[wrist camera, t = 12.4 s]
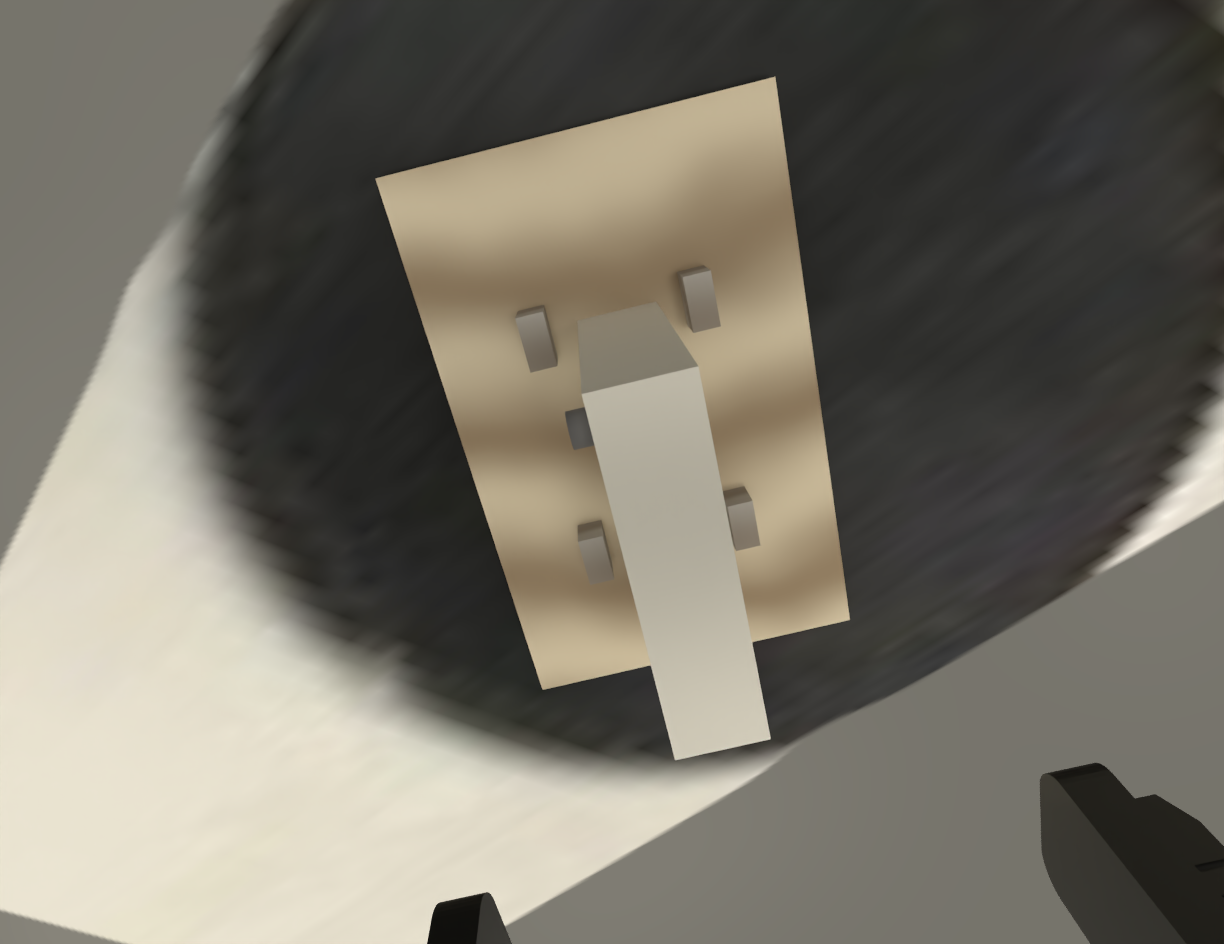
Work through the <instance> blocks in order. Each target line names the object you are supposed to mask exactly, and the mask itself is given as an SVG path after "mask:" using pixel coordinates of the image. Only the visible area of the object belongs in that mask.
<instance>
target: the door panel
mask: <svg viewBox="0 0 1224 944" xmlns="http://www.w3.org/2000/svg"><path fill="white" fill-rule="evenodd" d="M577 325H578V342H579V360H580V377H581V394H582V398H583V402H584V406H585V407H582V408H578V409H574V410H570V411H565V417H566V423H567V427H568V432H569V436H570V439H571V443H572V446H573V449H574V450H577V449H581V448H586V447H590V446H594V445H595V449H596V453H597V457H598V461H599V464H600V468H601V472H602V476H603V480H604V484H605V488H606V492H607V496H608V500H609V504H610V507H611V511H612V515H613V519H614V523H615V527H616V531H617V535H618V539H619V543H620V547H621V550H622V554H623V558H624V562H625V566H626V570H627V574H628V578H629V582H630V586H631V589H632V593H633V597H634V601H635V605H636V609H637V613H638V617H639V621H640V625H641V629H642V632H643V636H644V640H645V644H646V648H647V652H648V656H649V660H650V664H651V668H652V671H653V675H654V679H655V683H656V687H657V691H658V695H659V699H660V703H661V707H662V711H663V714H664V718H665V722H666V726H667V730H668V734H669V738H670V742H671V746H672V750H673V753H674V757H675V760H679V759H683V758H688V757H692V756H697V755H701V754H706V753H710V752H715V751H719V750H724V749H728V748H733V747H737V746H742V745H746V744H751V743H755V742H760V741H764V740H769V739H771V738H770V733H769V728H768V722H767V717H766V712H765V707H764V702H763V697H762V691H761V686H760V681H759V676H758V671H757V666H756V660H755V655H754V650H753V645H752V640H751V635H750V630H749V624H748V619H747V614H746V609H745V604H744V599H743V593H742V588H741V583H740V578H739V573H738V568H737V562H736V557H735V552H734V547H733V542H732V537H731V531H730V526H729V521H728V516H727V511H726V506H725V501H724V495H723V490H722V485H721V480H720V475H719V470H718V464H717V459H716V454H715V449H714V444H713V439H712V433H711V428H710V423H709V418H708V413H707V408H706V403H705V397H704V392H703V387H702V382H701V377H700V372H699V366H698V365H697V363H696V362H695V360H694V359H693V357H692V356H691V354H690V353H689V351H688V349H687V348H686V346H685V345H684V343H683V342H682V340H681V339H680V337H679V336H678V334H677V333H676V331H675V330H674V328H673V327H672V325H671V323H670V322H669V320H668V319H667V317H666V316H665V314H664V313H663V311H662V310H661V308H660V307H659V305H658V304H657V302H652V303H648V304H644V305H640V306H635V307H631V308H627V309H623V310H619V311H615V312H611V313H607V314H602V315H598V316H594V317H590V318H586V319H582V320H578V321H577Z"/></svg>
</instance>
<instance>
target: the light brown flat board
mask: <svg viewBox="0 0 1224 944" xmlns="http://www.w3.org/2000/svg"><path fill="white" fill-rule="evenodd" d="M376 182H377V185H378V188H379V191H380V194H381V197H382V200H383V204H384V207H385V210H386V213H387V216H388V219H389V222H390V225H391V228H392V231H393V234H394V237H395V240H396V243H397V246H398V249H399V252H400V255H401V259H402V262H403V265H404V268H405V271H406V274H407V277H408V280H409V283H410V286H411V289H412V292H413V295H414V298H415V301H416V304H417V307H418V310H419V314H420V317H421V320H422V323H423V326H424V329H425V332H426V335H427V338H428V341H429V344H430V347H431V350H432V353H433V356H434V359H435V362H436V366H437V369H438V372H439V375H440V378H441V381H442V384H443V387H444V390H445V393H446V396H447V399H448V402H449V405H450V408H451V411H452V414H453V417H454V421H455V424H456V427H457V430H458V433H459V436H460V439H461V442H462V445H463V448H464V451H465V454H466V457H467V460H468V463H469V466H470V469H471V472H472V476H473V479H474V482H475V485H476V488H477V491H478V494H479V497H480V500H481V503H482V506H483V509H484V512H485V515H486V518H487V521H488V524H489V527H490V531H491V534H492V537H493V540H494V543H495V546H496V549H497V552H498V555H499V558H500V561H501V564H502V567H503V570H504V573H505V576H506V579H507V582H508V586H509V589H510V592H511V595H512V598H513V601H514V604H515V607H516V610H517V613H518V616H519V619H520V622H521V625H522V628H523V631H524V634H525V638H526V641H527V644H528V647H529V650H530V653H531V656H532V659H533V662H534V665H535V668H536V671H537V674H538V677H539V680H540V683H541V686H542V689H543V690H544V689H548V688H553V687H557V686H562V685H566V684H570V683H575V682H579V681H584V680H588V679H592V678H597V677H601V676H606V675H610V674H614V673H619V672H623V671H627V670H632V669H636V668H641V667H645V666H649V665H651V664H650V660H649V656H648V652H647V648H646V644H645V640H644V636H643V632H642V629H641V625H640V621H639V617H638V613H637V609H636V605H635V601H634V597H633V593H632V589H631V586H630V582H629V578H628V574H627V570H626V566H625V562H624V558H623V554H622V550H621V547H620V543H619V539H618V535H617V531H616V527H615V523H614V519H613V515H612V511H611V507H610V504H609V500H608V496H607V492H606V488H605V484H604V480H603V476H602V472H601V468H600V464H599V461H598V457H597V453H596V449H595V445H594V446H590V447H586V448H581V449H577V450H574V449H573V446H572V443H571V439H570V436H569V432H568V427H567V423H566V417H565V411H570V410H574V409H578V408H582V407H585V406H584V402H583V398H582V394H581V377H580V360H579V342H578V325H577V321H578V320H582V319H586V318H590V317H594V316H598V315H602V314H607V313H611V312H615V311H619V310H623V309H627V308H631V307H635V306H640V305H644V304H648V303H652V302H657V304H658V305H659V307H660V308H661V310H662V311H663V313H664V314H665V316H666V317H667V319H668V320H669V322H670V323H671V325H672V327H673V328H674V330H675V331H676V333H677V334H678V336H679V337H680V339H681V340H682V342H683V343H684V345H685V346H686V348H687V349H688V351H689V353H690V354H691V356H692V357H693V359H694V360H695V362H696V363H697V365H698V366H699V372H700V377H701V382H702V387H703V392H704V397H705V403H706V408H707V413H708V418H709V423H710V428H711V433H712V439H713V444H714V449H715V454H716V459H717V464H718V470H719V475H720V480H721V485H722V490H723V495H724V501H725V506H726V511H727V516H728V521H729V526H730V531H731V537H732V542H733V547H734V552H735V557H736V562H737V568H738V573H739V578H740V583H741V588H742V593H743V599H744V604H745V609H746V614H747V619H748V624H749V630H750V635H751V640H752V642H755V641H759V640H764V639H768V638H772V637H777V636H781V635H786V634H790V633H794V632H799V631H803V630H807V629H812V628H816V627H821V626H825V625H829V624H834V623H838V622H843V621H847V620H850V617H849V610H848V603H847V595H846V588H845V581H844V573H843V566H842V559H841V552H840V544H839V537H838V530H837V523H836V515H835V508H834V501H833V493H832V486H831V479H830V472H829V464H828V457H827V450H826V443H825V435H824V428H823V421H822V413H821V406H820V399H819V392H818V384H817V377H816V370H815V363H814V355H813V348H812V341H811V333H810V326H809V319H808V312H807V304H806V297H805V290H804V283H803V275H802V268H801V261H800V253H799V246H798V239H797V232H796V224H795V217H794V210H793V203H792V195H791V188H790V181H789V173H788V166H787V159H786V152H785V144H784V137H783V130H782V123H781V115H780V108H779V101H778V93H777V86H776V79H775V77H772V78H768V79H765V80H761V81H757V82H753V83H749V84H745V85H741V86H737V87H733V88H729V89H725V90H721V91H717V92H713V93H710V94H706V95H702V96H698V97H694V98H690V99H686V100H682V101H678V102H674V103H670V104H666V105H662V106H658V107H655V108H651V109H647V110H643V111H639V112H635V113H631V114H627V115H623V116H619V117H615V118H611V119H607V120H603V121H600V122H596V123H592V124H588V125H584V126H580V127H576V128H572V129H568V130H564V131H560V132H556V133H552V134H548V135H545V136H541V137H537V138H533V139H529V140H525V141H521V142H517V143H513V144H509V145H505V146H501V147H497V148H493V149H489V150H486V151H482V152H478V153H474V154H470V155H466V156H462V157H458V158H454V159H450V160H446V161H442V162H438V163H434V164H431V165H427V166H423V167H419V168H415V169H411V170H407V171H403V172H399V173H395V174H391V175H387V176H383V177H379V178H376Z"/></svg>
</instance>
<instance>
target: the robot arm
mask: <svg viewBox="0 0 1224 944" xmlns="http://www.w3.org/2000/svg"><path fill="white" fill-rule="evenodd" d="M1040 807H1041V843H1042V855H1043V859H1044V863H1045V866H1046V869H1047V872H1048V875H1049V877H1050V880H1051V882H1052V884H1053V886H1054V888H1055V890H1056V892H1057V894H1058V895H1059V897H1060V899H1061V900H1062V902H1063V903H1064V905H1065V906H1066V908H1067V909H1068V911H1069V912H1070V914H1071V915H1072V917H1073V918H1074V920H1075V921H1076V923H1077V924H1078V926H1079V927H1080V929H1081V930H1082V932H1083V933H1084V934H1085V936H1086V938H1087V939H1088V941H1089V942H1090V944H1224V846H1223V845H1222V844H1221V843H1220V842H1219V841H1218V840H1217V839H1216V838H1215V837H1214V836H1213V835H1212V834H1211V833H1210V832H1209V831H1208V829H1207V828H1205V826H1204V825H1203V824H1202V823H1201V822H1200V821H1198V820H1197V819H1195V818H1193V817H1192V816H1190V815H1189V814H1187V813H1185V812H1184V811H1182V810H1180V809H1179V808H1177V807H1175V806H1174V805H1172V804H1170V803H1169V802H1167V801H1165V800H1164V799H1162V798H1161V797H1159V796H1157V795H1150V796H1145V797H1140V798H1136V799H1135V798H1134V797H1133V796H1132V795H1131V794H1130V793H1129V792H1128V790H1126V788H1125V787H1124V786H1123V785H1122V784H1121V783H1120V781H1119V780H1118V779H1117V778H1116V777H1115V776H1114V775H1113V774H1112V773H1111V772H1110V771H1109V770H1108V769H1107V768H1106V767H1105V766H1103V765H1101V764H1099V763H1093V764H1088V765H1083V766H1079V767H1074V768H1069V769H1064V770H1060V771H1055V772H1051V773H1046V774H1043V775H1042V776H1041V779H1040ZM427 944H512V943H511V941H510V938H509V936H508V933H507V931H506V928H505V926H504V923H503V921H502V919H501V916H500V914H499V911H498V909H497V906H496V904H495V901H494V899H493V897H492V896H491V894H490V893H488V892H486V893H482V894H477V895H472V896H468V897H463V898H459V899H454V900H449V901H445V902H440V903H438V904H437V905H436V907H435V909H434V912H433V915H432V920H431V926H430V931H429V937H428V942H427Z"/></svg>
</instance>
